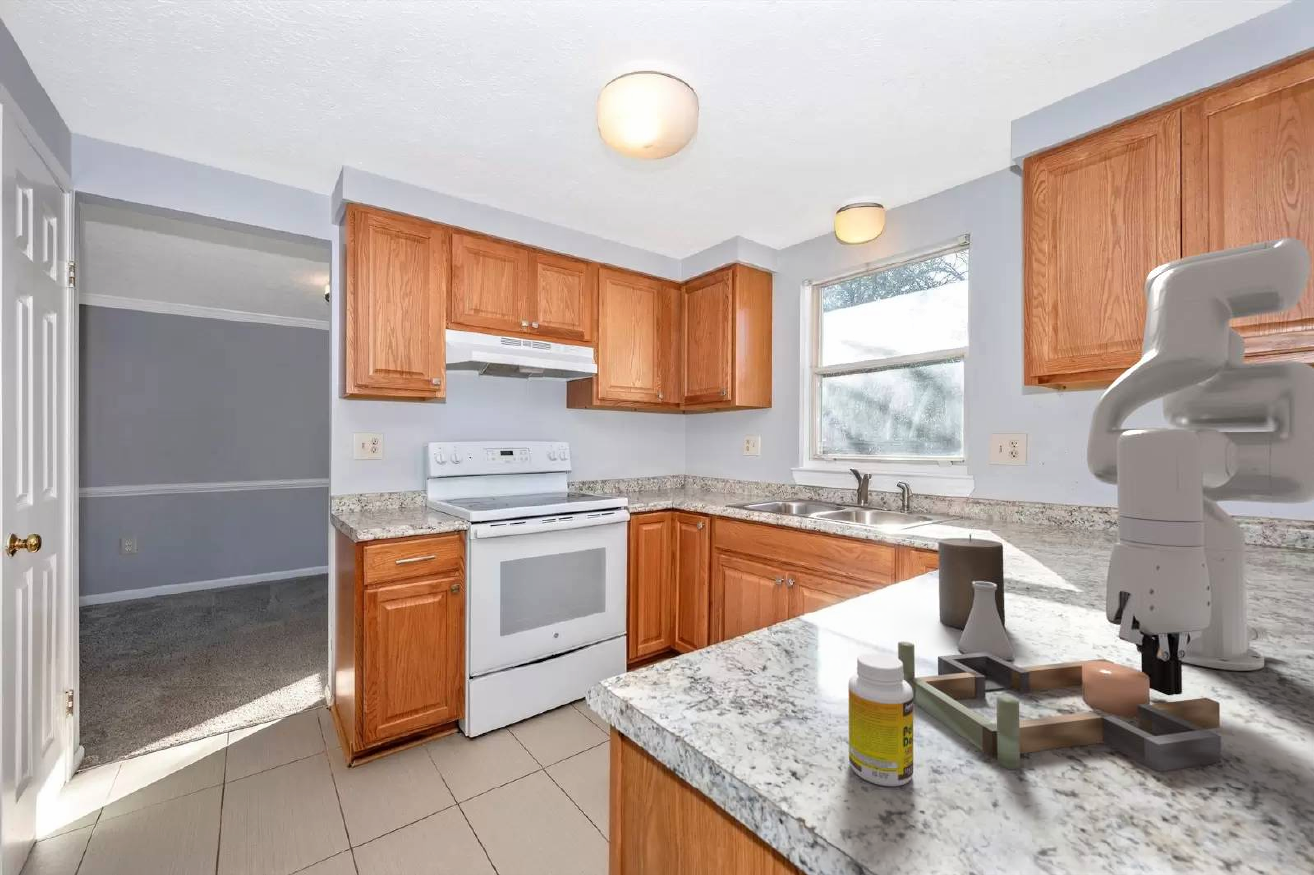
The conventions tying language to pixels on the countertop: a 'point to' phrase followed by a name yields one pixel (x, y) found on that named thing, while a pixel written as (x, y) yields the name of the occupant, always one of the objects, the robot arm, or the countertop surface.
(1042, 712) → the countertop surface
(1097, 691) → the short salmon cylinder
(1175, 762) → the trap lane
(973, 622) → the flask
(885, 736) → the supplement bottle
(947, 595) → the pillar candle
